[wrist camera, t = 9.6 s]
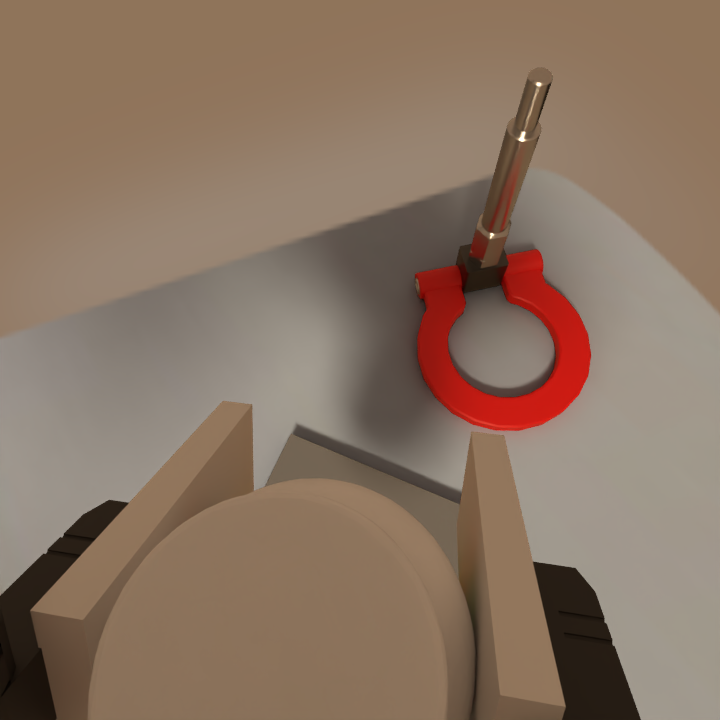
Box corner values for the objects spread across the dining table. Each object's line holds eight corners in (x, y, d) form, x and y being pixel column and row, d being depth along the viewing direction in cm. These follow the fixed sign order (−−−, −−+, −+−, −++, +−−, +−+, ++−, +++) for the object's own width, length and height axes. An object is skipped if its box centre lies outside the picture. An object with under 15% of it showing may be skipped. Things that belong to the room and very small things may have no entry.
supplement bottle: (477, 682, 14) (631, 846, 5) (288, 782, 13) (67, 1181, 4) (390, 493, 16) (385, 368, 7) (224, 571, 15) (-13, 542, 6)
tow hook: (608, 414, 25) (546, 254, 29) (808, 281, 13) (660, 32, 17) (439, 449, 25) (397, 284, 28) (486, 346, 13) (403, 82, 16)
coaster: (174, 678, 21) (168, 681, 21) (293, 436, 25) (291, 433, 25) (427, 820, 19) (428, 827, 18) (515, 530, 23) (518, 528, 22)
